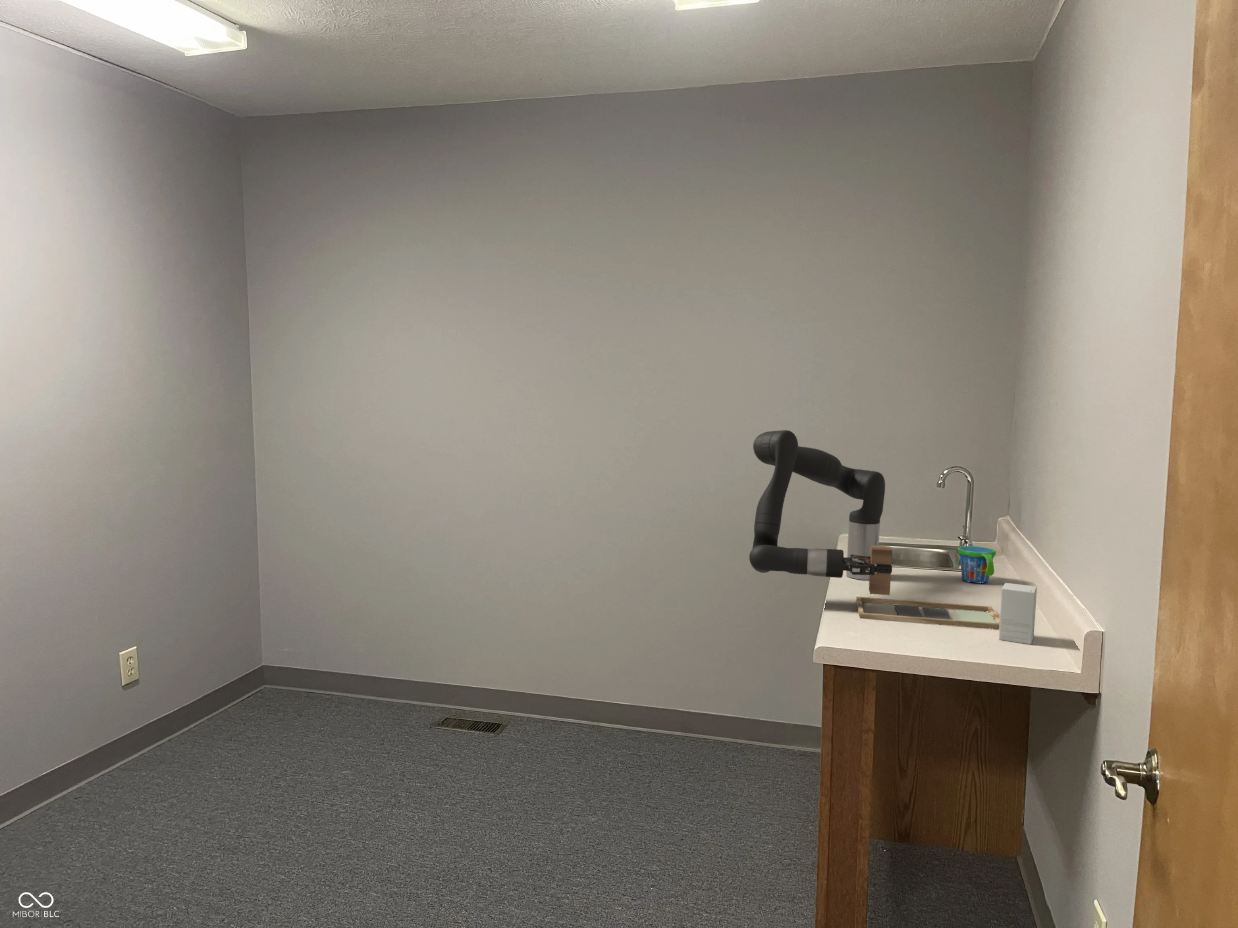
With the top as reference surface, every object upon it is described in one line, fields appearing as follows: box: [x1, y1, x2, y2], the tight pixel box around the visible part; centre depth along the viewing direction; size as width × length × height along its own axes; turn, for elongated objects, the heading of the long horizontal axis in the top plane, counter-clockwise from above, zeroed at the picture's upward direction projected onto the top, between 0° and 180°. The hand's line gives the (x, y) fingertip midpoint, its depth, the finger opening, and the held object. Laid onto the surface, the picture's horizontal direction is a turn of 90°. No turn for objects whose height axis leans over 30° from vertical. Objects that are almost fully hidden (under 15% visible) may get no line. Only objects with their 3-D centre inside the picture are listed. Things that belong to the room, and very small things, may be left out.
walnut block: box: [868, 545, 893, 596], centre depth 230 cm, size 5×5×12 cm
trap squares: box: [894, 605, 953, 620], centre depth 229 cm, size 12×13×1 cm
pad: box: [953, 609, 996, 623], centre depth 226 cm, size 12×8×1 cm
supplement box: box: [998, 582, 1038, 645], centre depth 208 cm, size 7×7×13 cm
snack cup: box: [957, 545, 997, 584], centre depth 267 cm, size 16×10×10 cm
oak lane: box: [855, 596, 1000, 630], centre depth 228 cm, size 18×35×1 cm, turn 77°
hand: (890, 566), depth 229 cm, fingers closed on walnut block, 5 cm apart
